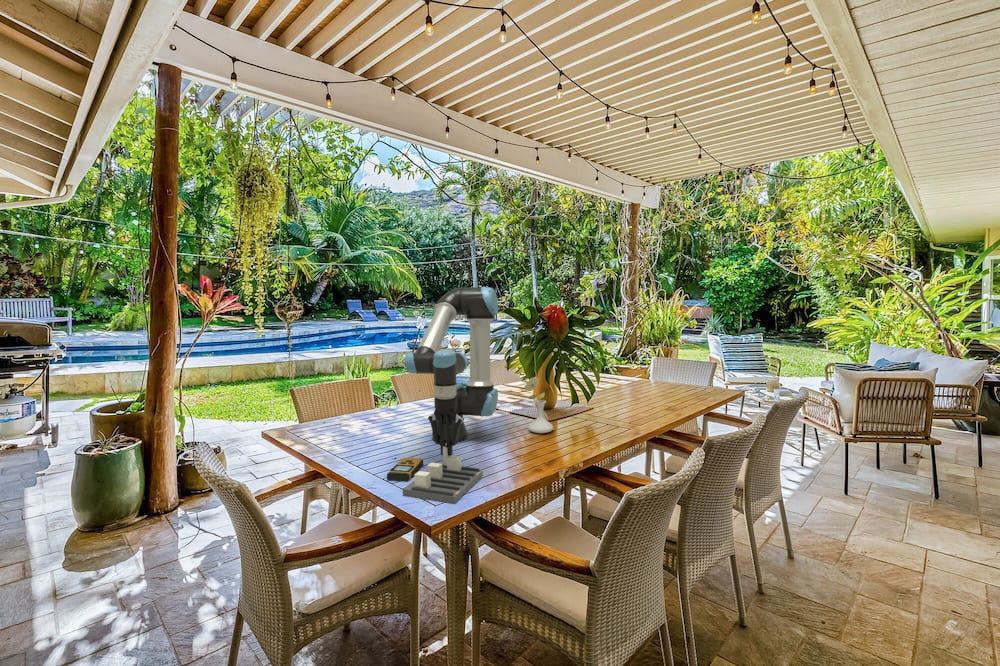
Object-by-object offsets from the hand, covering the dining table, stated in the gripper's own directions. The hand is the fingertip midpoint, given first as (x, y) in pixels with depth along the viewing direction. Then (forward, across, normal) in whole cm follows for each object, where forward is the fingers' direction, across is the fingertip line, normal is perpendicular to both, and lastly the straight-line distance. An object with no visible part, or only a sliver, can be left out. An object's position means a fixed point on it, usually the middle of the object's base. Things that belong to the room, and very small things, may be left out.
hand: (446, 464), depth 165 cm
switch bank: (+4, +3, -8) cm, 9 cm away
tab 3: (+2, +3, 0) cm, 3 cm away
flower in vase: (+4, +16, +59) cm, 61 cm away
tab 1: (+2, 0, -16) cm, 16 cm away
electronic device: (+5, -15, -2) cm, 16 cm away
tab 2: (+2, 0, -8) cm, 8 cm away
